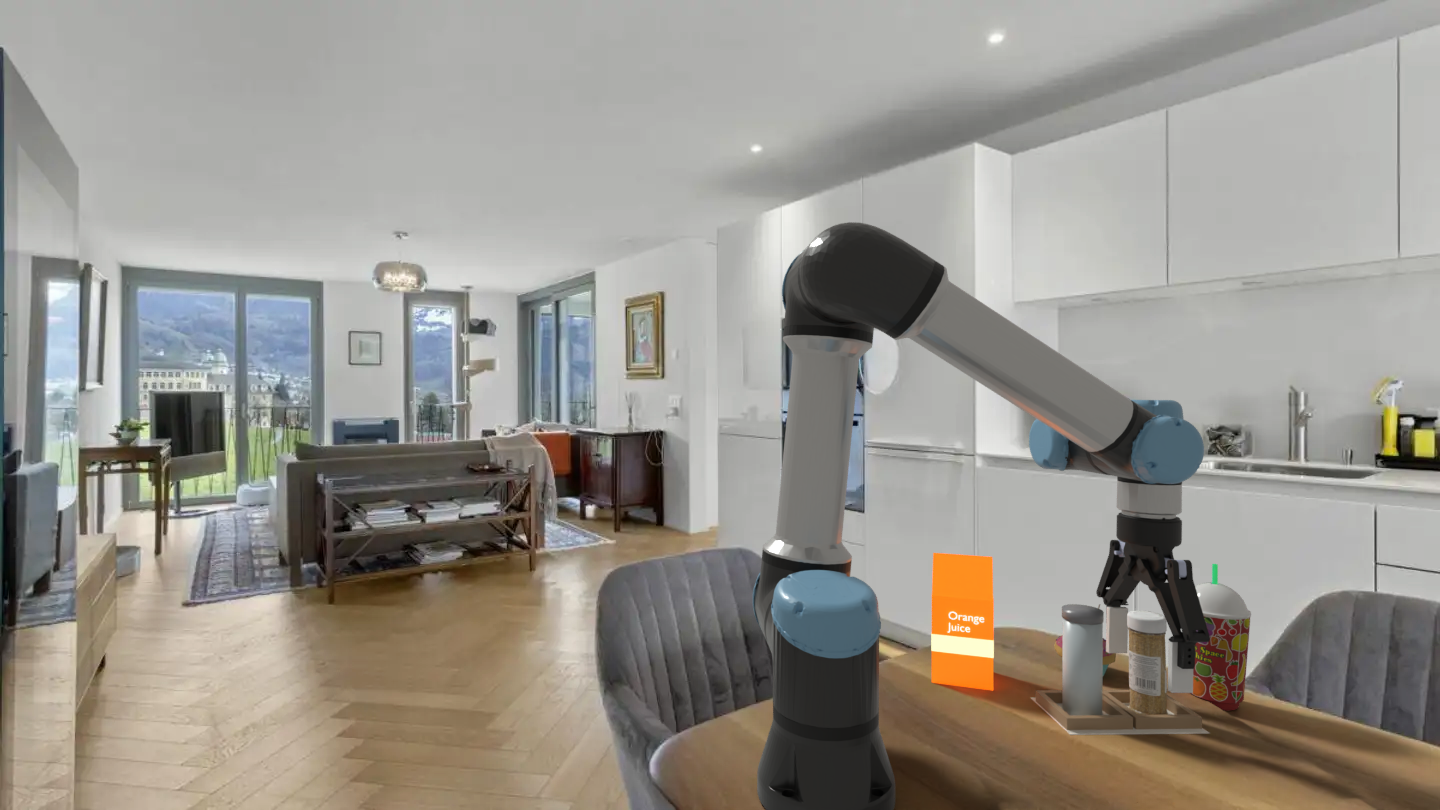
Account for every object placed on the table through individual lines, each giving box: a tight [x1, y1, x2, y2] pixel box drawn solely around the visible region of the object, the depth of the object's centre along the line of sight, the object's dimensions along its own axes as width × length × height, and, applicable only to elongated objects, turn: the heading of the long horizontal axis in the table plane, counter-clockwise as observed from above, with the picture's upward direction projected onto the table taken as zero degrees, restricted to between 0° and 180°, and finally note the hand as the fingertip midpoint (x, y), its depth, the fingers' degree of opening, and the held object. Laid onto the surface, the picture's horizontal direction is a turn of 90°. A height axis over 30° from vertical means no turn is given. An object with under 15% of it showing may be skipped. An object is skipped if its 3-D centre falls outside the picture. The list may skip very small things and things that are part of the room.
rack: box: [1030, 689, 1211, 736], centre depth 94 cm, size 18×11×3 cm, turn 91°
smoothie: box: [1190, 563, 1252, 712], centre depth 101 cm, size 8×8×20 cm
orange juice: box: [930, 552, 995, 692], centre depth 107 cm, size 8×9×20 cm
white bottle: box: [1061, 603, 1105, 716], centre depth 94 cm, size 5×5×14 cm
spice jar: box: [1127, 610, 1168, 715], centre depth 94 cm, size 5×5×14 cm
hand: (1146, 670), depth 94 cm, fingers open, 13 cm apart
